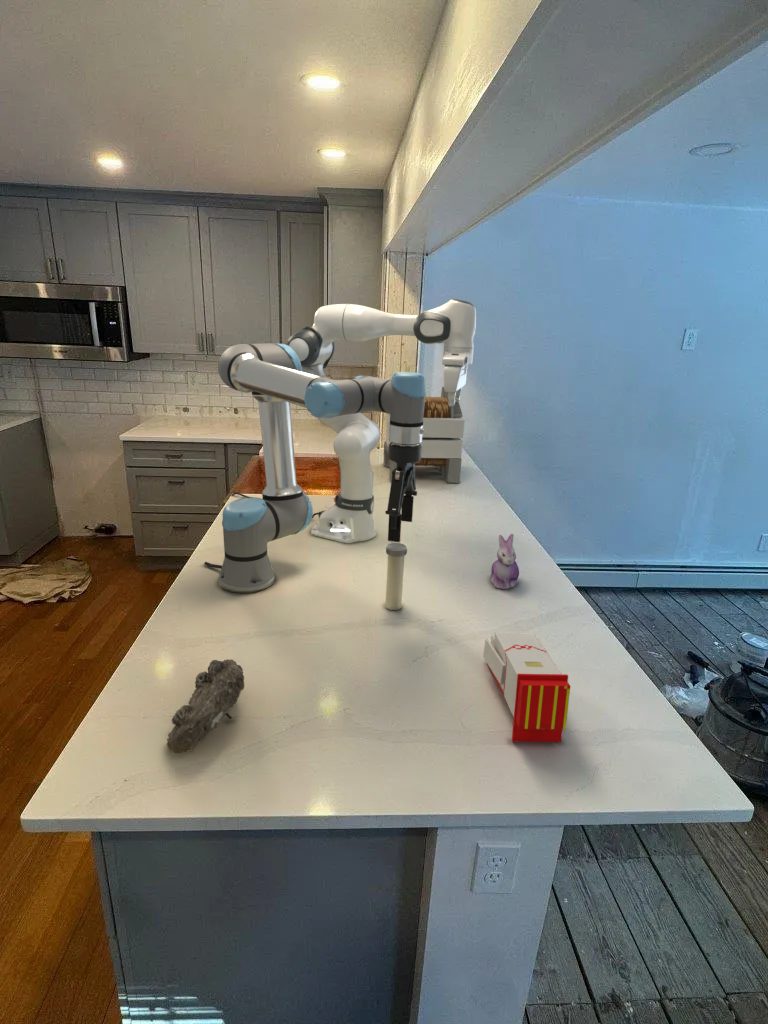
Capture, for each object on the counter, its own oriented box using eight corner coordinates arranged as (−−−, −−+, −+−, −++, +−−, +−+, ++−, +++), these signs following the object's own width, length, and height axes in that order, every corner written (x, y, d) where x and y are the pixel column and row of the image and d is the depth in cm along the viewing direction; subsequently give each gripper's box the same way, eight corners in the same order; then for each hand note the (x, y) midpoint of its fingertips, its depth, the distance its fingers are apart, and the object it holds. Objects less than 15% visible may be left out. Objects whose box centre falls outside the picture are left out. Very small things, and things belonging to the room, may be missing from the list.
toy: (532, 616, 130) (580, 681, 101) (527, 670, 133) (572, 749, 103) (479, 615, 129) (512, 680, 100) (475, 669, 132) (506, 748, 103)
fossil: (192, 660, 117) (244, 628, 112) (224, 691, 120) (276, 661, 115) (142, 746, 98) (202, 712, 93) (182, 779, 101) (242, 748, 96)
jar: (395, 612, 148) (398, 553, 143) (382, 606, 151) (384, 548, 145) (404, 605, 152) (408, 548, 146) (391, 600, 154) (394, 543, 148)
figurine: (502, 593, 161) (508, 544, 156) (480, 578, 169) (486, 531, 164) (528, 587, 165) (535, 539, 160) (505, 572, 173) (511, 527, 168)
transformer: (382, 463, 289) (386, 382, 275) (445, 464, 293) (451, 384, 279) (390, 482, 257) (394, 392, 243) (460, 483, 261) (468, 394, 247)
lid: (398, 559, 142) (399, 552, 142) (381, 553, 145) (382, 547, 145) (410, 552, 146) (411, 546, 146) (394, 547, 149) (394, 541, 149)
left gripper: (410, 457, 115) (404, 552, 123) (431, 433, 138) (425, 515, 145) (374, 453, 117) (371, 548, 124) (401, 431, 140) (396, 511, 147)
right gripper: (453, 354, 180) (449, 398, 185) (441, 358, 161) (437, 407, 166) (473, 355, 178) (468, 399, 183) (463, 360, 160) (459, 409, 164)
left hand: (400, 530), depth 135 cm, fingers open, 13 cm apart
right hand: (454, 403), depth 174 cm, fingers open, 8 cm apart
